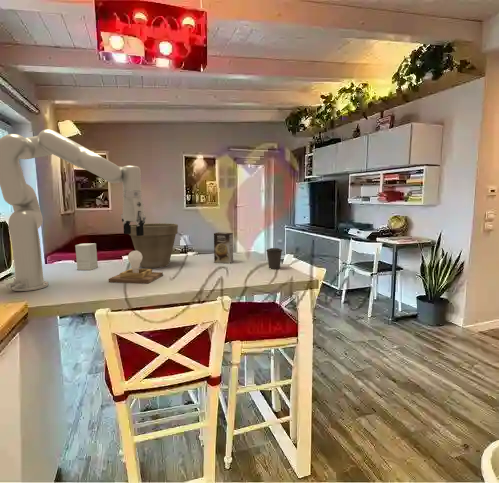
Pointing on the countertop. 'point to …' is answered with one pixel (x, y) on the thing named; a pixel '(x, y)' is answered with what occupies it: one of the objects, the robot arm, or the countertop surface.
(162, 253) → the plant pot
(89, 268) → the supplement box
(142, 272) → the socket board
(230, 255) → the coffee box
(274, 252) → the coffee cup
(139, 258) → the lightbulb
